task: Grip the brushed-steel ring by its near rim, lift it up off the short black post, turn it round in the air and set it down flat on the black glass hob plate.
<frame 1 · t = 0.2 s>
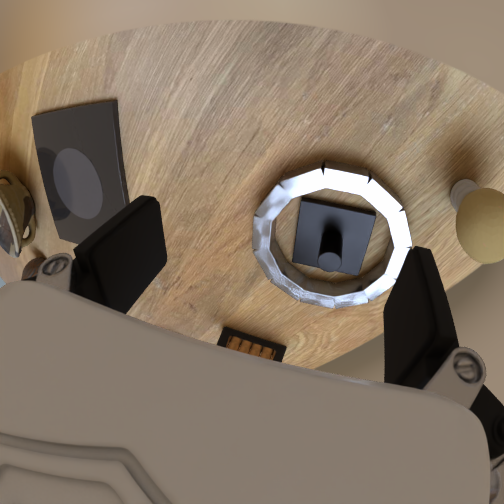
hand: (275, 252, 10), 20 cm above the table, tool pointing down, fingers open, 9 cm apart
steel ring: (332, 235, 31), on the table
light bulb: (462, 192, 24), on the table
hob plate: (80, 181, 38), on the table
bowl: (26, 198, 45), on the table
vase: (46, 264, 57), on the table
ring stand: (332, 235, 31), on the table
ammunition clip: (254, 339, 46), on the table
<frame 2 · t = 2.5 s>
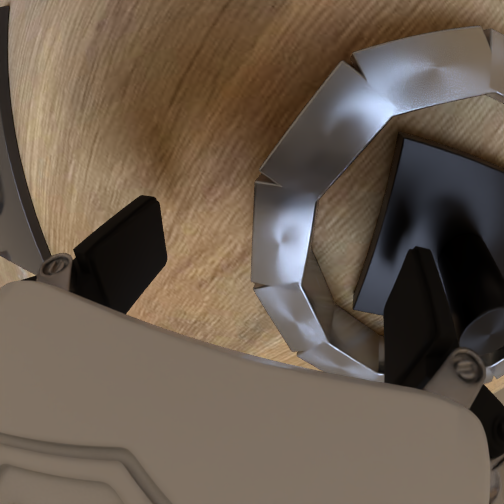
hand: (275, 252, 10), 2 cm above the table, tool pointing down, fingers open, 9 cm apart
steel ring: (457, 245, 10), on the table
ring stand: (457, 245, 10), on the table
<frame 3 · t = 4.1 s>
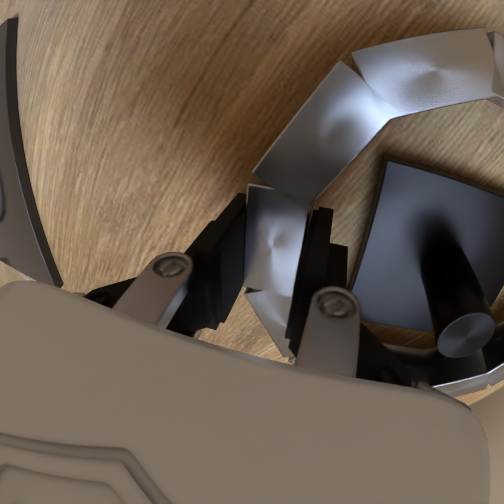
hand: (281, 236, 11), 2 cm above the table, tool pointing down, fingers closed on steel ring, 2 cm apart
steel ring: (453, 251, 10), point 1 cm above the table, touching gripper
ring stand: (439, 256, 11), on the table
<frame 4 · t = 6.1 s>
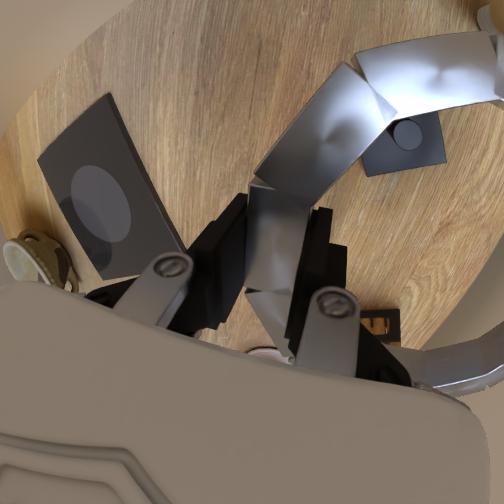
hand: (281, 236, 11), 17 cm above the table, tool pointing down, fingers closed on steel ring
steel ring: (453, 253, 10), point 16 cm above the table, touching gripper
light bulb: (489, 25, 12), on the table
hob plate: (103, 202, 36), on the table
bowl: (60, 253, 48), on the table
ring stand: (396, 124, 21), on the table
ammunition clip: (358, 315, 35), on the table
teacup: (277, 367, 46), on the table
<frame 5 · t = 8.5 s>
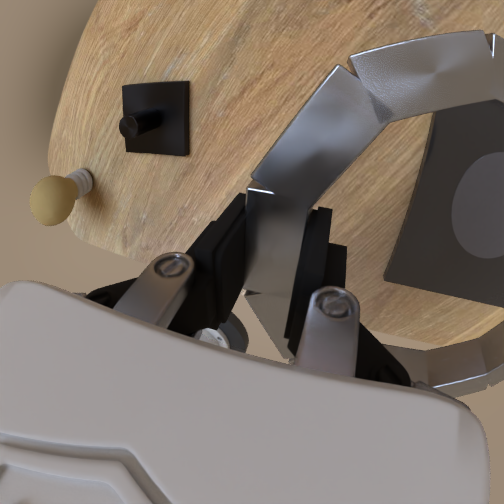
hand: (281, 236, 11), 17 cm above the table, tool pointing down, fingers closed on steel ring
steel ring: (453, 253, 10), point 16 cm above the table, touching gripper
light bulb: (87, 178, 35), on the table
hob plate: (495, 204, 21), on the table
ring stand: (156, 117, 27), on the table
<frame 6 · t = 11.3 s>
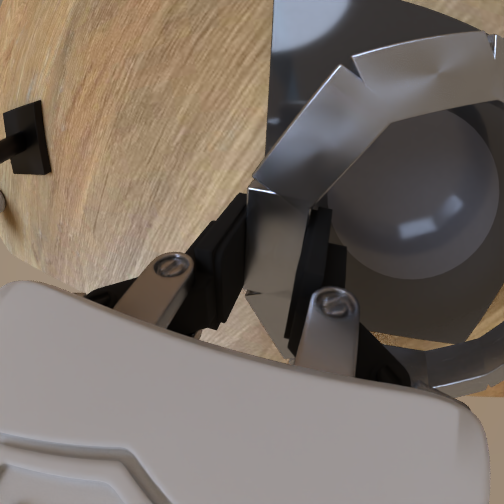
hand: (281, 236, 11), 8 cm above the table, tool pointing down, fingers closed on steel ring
steel ring: (453, 253, 10), point 7 cm above the table, touching gripper
light bulb: (2, 197, 31), on the table
hob plate: (417, 195, 16), on the table
ring stand: (27, 138, 23), on the table
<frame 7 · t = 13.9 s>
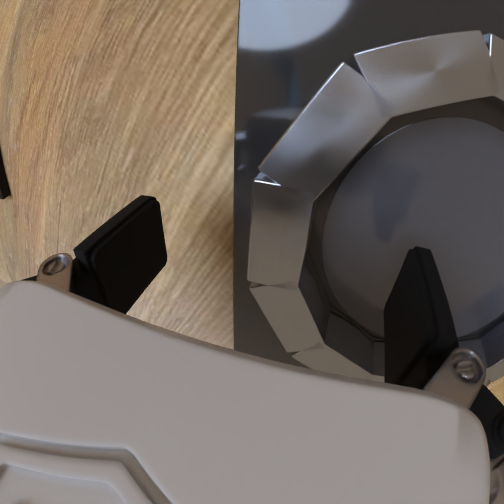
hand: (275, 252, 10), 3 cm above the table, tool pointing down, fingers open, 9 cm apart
steel ring: (453, 248, 10), point 1 cm above the table, touching hob plate
hob plate: (444, 242, 11), on the table
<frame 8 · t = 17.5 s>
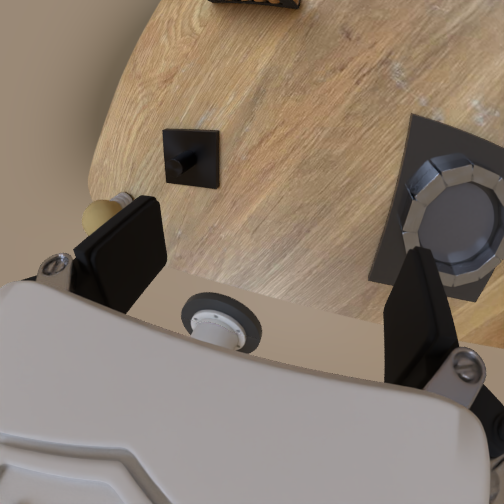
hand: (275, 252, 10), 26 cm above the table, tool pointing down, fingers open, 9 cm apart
steel ring: (459, 222, 30), point 1 cm above the table, touching hob plate
light bulb: (127, 200, 46), on the table
hob plate: (455, 221, 31), on the table
ring stand: (192, 156, 38), on the table
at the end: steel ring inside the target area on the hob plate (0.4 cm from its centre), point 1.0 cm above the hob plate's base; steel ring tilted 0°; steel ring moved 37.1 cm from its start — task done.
